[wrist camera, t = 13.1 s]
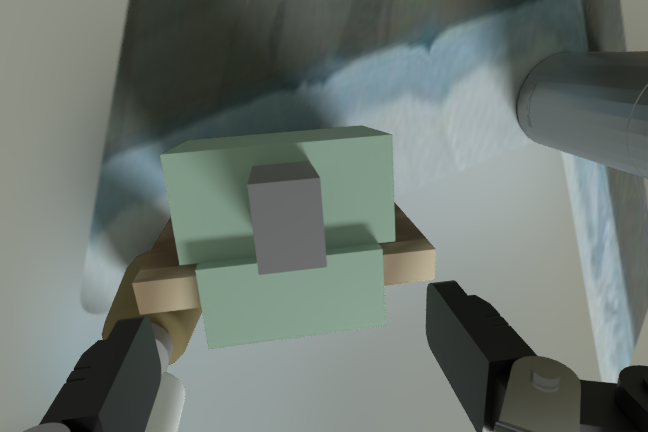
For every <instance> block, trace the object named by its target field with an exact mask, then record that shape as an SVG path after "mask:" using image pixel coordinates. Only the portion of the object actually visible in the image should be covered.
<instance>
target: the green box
mask: <svg viewBox="0 0 648 432" xmlns="http://www.w3.org/2000/svg"><path fill="white" fill-rule="evenodd" d="M160 158H161V164H162V169H163V175H164V181H165V186H166V192H167V198H168V203H169V209H170V215H171V220H172V226H173V231H174V237H175V243H176V248H177V254H178V260H179V265H187V264H196V263H198V265H197V267H196V270H195V272H196V278H197V284H198V290H199V296H200V302H201V308H202V313H203V319H204V325H205V331H206V337H207V343H208V349H214V348H221V347H228V346H236V345H244V344H251V343H260V342H267V341H274V340H283V339H290V338H298V337H305V336H312V335H321V334H328V333H336V332H344V331H351V330H358V329H366V328H374V327H382V326H385V325H386V324H385V298H384V271H383V249H382V248H381V246H380V245H379V244H378V243H385V242H393V241H395V211H394V177H393V142H392V134H389V133H385V132H382V131H378V130H375V129H372V128H368V127H365V126H350V127H338V128H326V129H314V130H302V131H290V132H278V133H266V134H254V135H242V136H231V137H219V138H207V139H195V140H188V141H186V142H184V143H182V144H180V145H178V146H176V147H174V148H172V149H170V150H168V151H166V152H164V153H162V154H160Z"/></svg>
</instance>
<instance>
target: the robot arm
mask: <svg viewBox="0 0 648 432" xmlns="http://www.w3.org/2000/svg"><path fill="white" fill-rule="evenodd" d="M517 114H518V119H519V123H520V125H521V127H522V130H523V131H524V132H525V134H526V135H527V136H528V137H529V138H530V139H532V140H533V141H534V142H537V143H539V144H542V145H545V146H548V147H551V148H554V149H557V150H560V151H563V152H566V153H569V154H572V155H575V156H578V157H581V158H585V159H588V160H591V161H594V162H597V163H600V164H603V165H606V166H609V167H612V168H616V169H619V170H622V171H625V172H628V173H631V174H634V175H637V176H640V177H644V178H647V179H648V51H639V52H638V51H635V52H564V53H560V54H556V55H553V56H551V57H549V58H547V59H545V60H544V61H543V62H541V63H540V64H539V65H538V66H536V67H535V68H534V70H533V71H532V72H531V73H530V74H529V76H528V77H527V79H526V80H525V82H524V84H523V86H522V89H521V91H520V94H519V99H518V104H517ZM426 335H427V340H428V344H429V347H430V349H431V351H432V353H433V354H434V356H435V358H436V360H437V362H438V363H439V365H440V367H441V368H442V371H443V372H444V374H445V376H446V378H447V379H448V381H449V383H450V385H451V387H452V388H453V390H454V392H455V394H456V396H457V397H458V399H459V401H460V403H461V404H462V406H463V408H464V410H465V411H466V413H467V415H468V417H469V419H470V421H471V422H472V424H473V426H474V428H475V430H476V431H477V432H648V366H640V365H638V366H629V367H626V368H624V369H623V370H622V371H621V372H620V374H619V378H618V382H617V384H616V383H606V382H596V381H586V380H580V379H579V378H578V377H577V375H576V374H575V373H574V372H573V371H572V370H571V369H570V368H568V367H567V366H566V365H564V364H562V363H560V362H558V361H556V360H553V359H550V358H546V357H541V356H537V355H536V354H535V353H534V352H533V350H532V349H531V348H530V347H529V346H528V345H527V344H526V343H525V341H523V339H522V338H521V337H520V336H519V335H518V334H517V333H516V332H515V331H514V329H513V328H512V327H511V326H509V325H508V323H507V322H506V321H505V319H504V318H503V317H501V316H500V314H499V313H498V312H497V310H496V309H495V308H494V307H493V306H492V305H491V304H490V303H488V302H487V301H485V300H483V299H481V298H480V297H478V296H476V295H469V296H468V295H467V294H466V293H465V292H464V290H463V289H462V288H461V287H460V286H459V284H458V283H457V282H456V281H454V280H453V281H445V282H436V283H430V284H428V287H427V305H426ZM66 381H67V382H66V383H65V384H64V385H63V387H62V388H61V390H60V391H59V393H58V395H57V396H56V398H55V400H54V401H53V403H52V404H51V406H50V408H49V409H48V411H47V413H46V414H45V416H44V417H43V419H42V421H41V422H40V424H39V425H38V426H35V427H32V428H30V429H28V430H26V431H24V432H145V430H146V426H147V423H148V420H149V417H150V414H151V411H152V408H153V405H154V402H155V399H156V396H157V393H158V389H159V386H160V382H161V361H160V357H159V353H158V349H157V345H156V340H155V336H154V332H153V328H152V324H151V321H150V319H149V317H147V316H145V317H136V318H128V319H120V320H118V321H117V322H116V324H115V326H114V327H113V329H112V331H111V333H110V334H109V336H108V338H107V339H106V340H98V341H97V342H96V343H95V344H94V345H92V346H91V347H90V348H89V349H88V350H87V351H86V352H84V353H83V354H82V356H81V358H80V359H79V361H78V362H77V364H76V366H75V367H74V371H72V372H71V374H70V375H69V377H68V378H67V380H66Z"/></svg>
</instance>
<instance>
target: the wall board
mask: <svg viewBox="0 0 648 432" xmlns="http://www.w3.org/2000/svg"><path fill="white" fill-rule="evenodd" d="M394 211H395V241H393V242H385V243H378V244H379V245H380V246H381V248H382V249H383V271H384V286H385V285H393V284H401V283H410V282H418V281H427V280H434V279H435V257H436V254H435V253H436V249H435V248H434V247H433V245H432V244H431V243H430V242H429V241H428V240H427V239H426V237H425V236H424V235H423V234H422V233H421V232H420V231H419V230H418V229H417V227H416V226H415V225H414V224H413V223H412V222H411V221H410V219H409V218H408V217H407V216H406V215H405V214H404V212H403V211H402V210H401V209H400V208H399V207H398V206H397V205H396V204H395V202H394ZM197 265H198V263H196V264H187V265H179V260H178V254H177V248H176V243H175V237H174V231H173V226H172V220H171V218H170V219H169V221H168V223H167V225H166V226H165V228H164V230H163V231H162V233H161V235H160V237H159V238H158V240H157V242H156V243H155V245H154V247H153V248H152V250H151V252H150V254H149V255H148V257H147V259H146V260H145V262H144V264H143V266H142V267H141V269H140V271H139V272H138V274H137V276H136V277H135V279H134V281H133V283H132V285H133V289H134V293H135V297H136V301H137V305H138V309H139V313H140V315H142V314H150V313H159V312H167V311H176V310H184V309H192V308H201V302H200V296H199V290H198V284H197V278H196V272H195V270H196V267H197Z"/></svg>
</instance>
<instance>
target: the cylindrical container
mask: <svg viewBox="0 0 648 432" xmlns="http://www.w3.org/2000/svg"><path fill="white" fill-rule="evenodd" d="M184 400H185V390H184V387H183V385H182V383H181V382H180V381H179V380H178V379H177V378H176V377H175V376H173V375H171V374H169V373H167V372H164V373H163V374H162V375H161V382H160V386H159V389H158V393H157V396H156V399H155V402H154V405H153V408H152V411H151V414H150V417H149V420H148V423H147V426H146V430H145V432H177V430H178V426H179V422H180V417H181V413H182V409H183V404H184Z"/></svg>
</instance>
